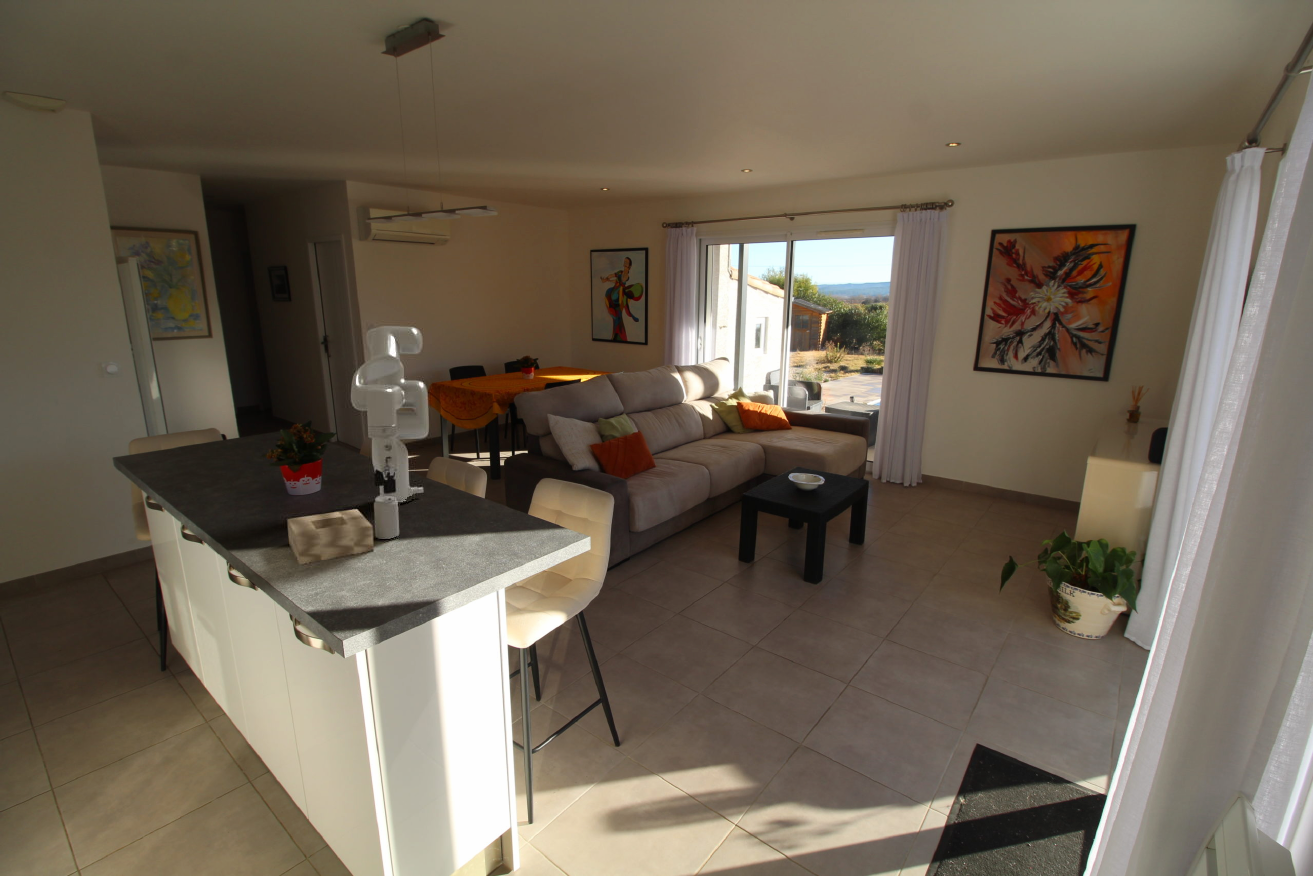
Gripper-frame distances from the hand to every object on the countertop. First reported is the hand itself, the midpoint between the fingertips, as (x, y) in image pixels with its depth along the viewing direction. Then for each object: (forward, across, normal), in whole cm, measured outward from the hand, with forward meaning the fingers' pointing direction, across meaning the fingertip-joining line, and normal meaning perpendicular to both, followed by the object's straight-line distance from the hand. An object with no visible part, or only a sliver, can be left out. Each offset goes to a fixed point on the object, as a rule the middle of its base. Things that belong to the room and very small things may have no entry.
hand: (385, 489), depth 176 cm
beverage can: (+15, +1, 0) cm, 15 cm away
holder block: (+15, +1, +15) cm, 21 cm away
